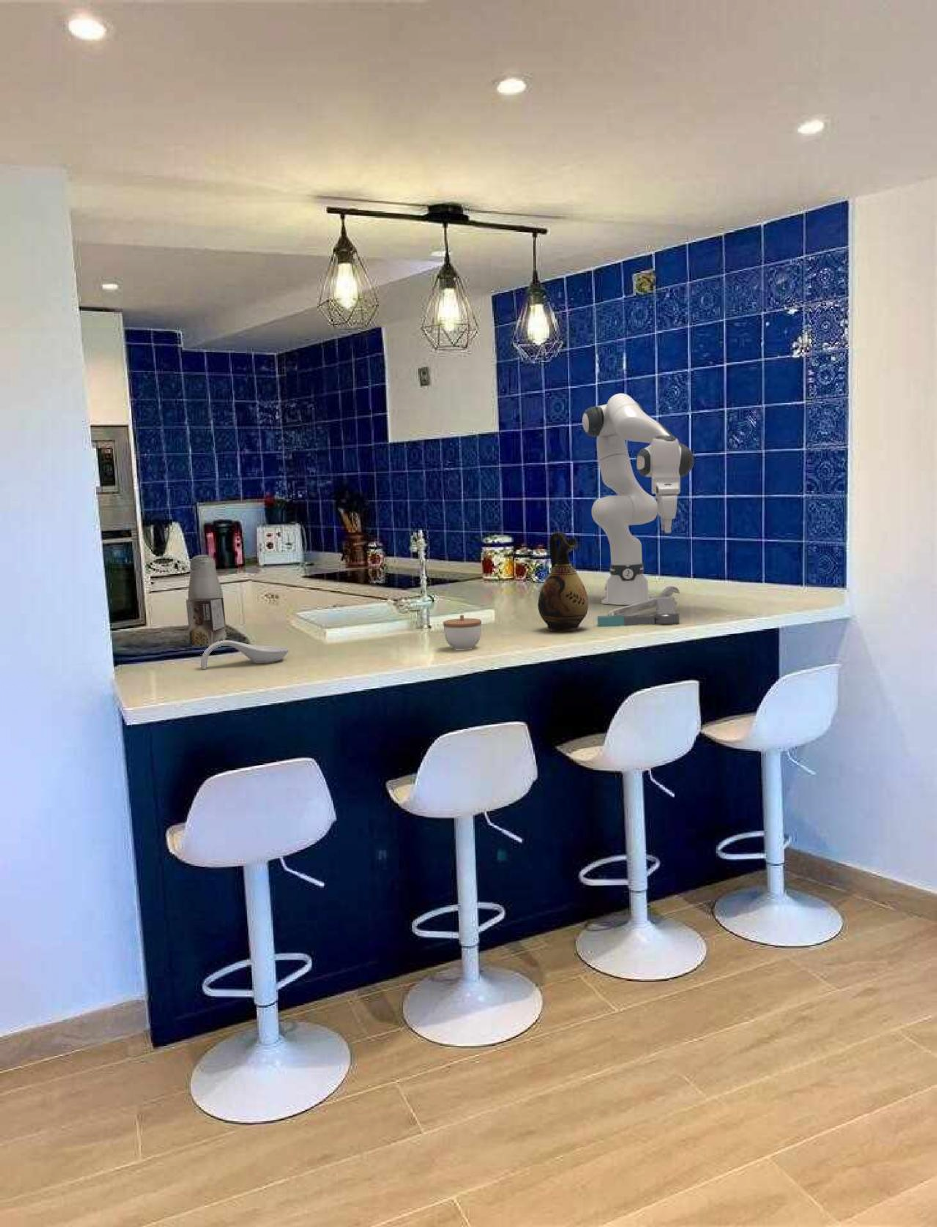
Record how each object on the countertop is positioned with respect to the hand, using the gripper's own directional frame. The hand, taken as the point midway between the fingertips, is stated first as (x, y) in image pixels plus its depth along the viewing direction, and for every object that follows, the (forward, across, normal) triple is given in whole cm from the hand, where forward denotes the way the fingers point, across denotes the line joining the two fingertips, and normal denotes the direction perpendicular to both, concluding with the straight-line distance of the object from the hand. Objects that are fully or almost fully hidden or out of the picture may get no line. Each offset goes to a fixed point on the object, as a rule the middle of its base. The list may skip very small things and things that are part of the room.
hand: (666, 531), depth 305 cm
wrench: (+28, -9, -6) cm, 30 cm away
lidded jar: (+28, +46, -61) cm, 81 cm away
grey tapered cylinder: (+29, +22, -144) cm, 148 cm away
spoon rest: (+28, +59, -120) cm, 137 cm away
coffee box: (+29, +39, -137) cm, 146 cm away
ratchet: (+27, +12, -10) cm, 32 cm away
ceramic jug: (+28, +18, -34) cm, 47 cm away
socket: (+24, +12, -2) cm, 27 cm away
